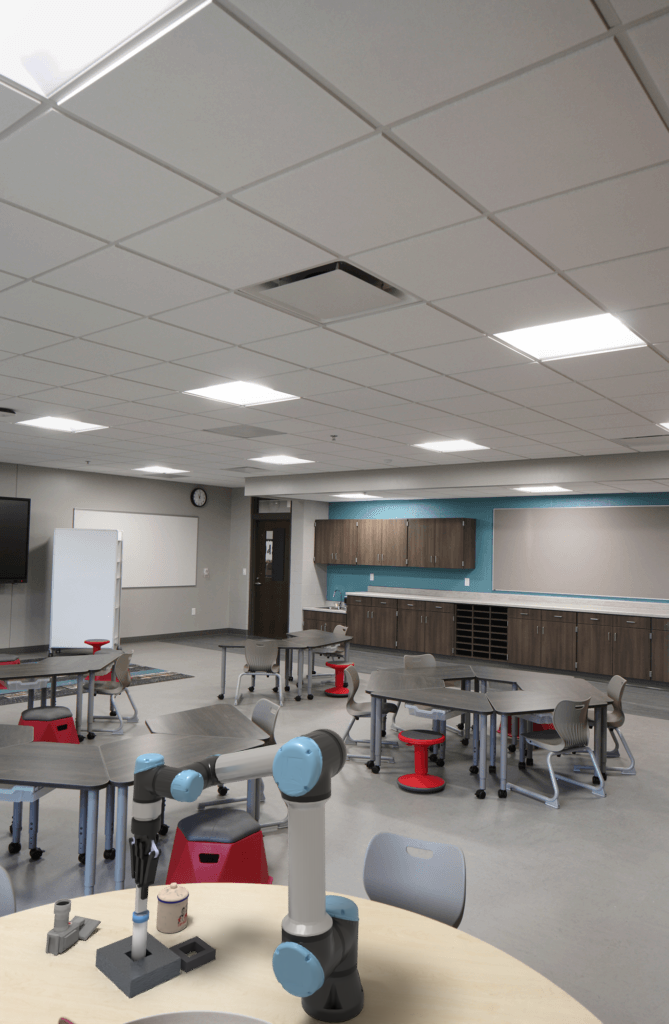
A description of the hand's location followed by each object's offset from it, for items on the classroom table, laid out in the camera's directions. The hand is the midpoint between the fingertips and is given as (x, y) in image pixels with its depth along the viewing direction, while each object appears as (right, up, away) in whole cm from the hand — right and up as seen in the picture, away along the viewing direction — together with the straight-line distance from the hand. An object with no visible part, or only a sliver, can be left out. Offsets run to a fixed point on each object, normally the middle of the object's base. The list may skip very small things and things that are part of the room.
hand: (140, 910), depth 169 cm
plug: (0, -14, -2) cm, 15 cm away
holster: (+12, -15, +4) cm, 20 cm away
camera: (-23, -15, +11) cm, 30 cm away
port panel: (0, -14, -2) cm, 15 cm away
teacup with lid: (+3, -17, +22) cm, 28 cm away
